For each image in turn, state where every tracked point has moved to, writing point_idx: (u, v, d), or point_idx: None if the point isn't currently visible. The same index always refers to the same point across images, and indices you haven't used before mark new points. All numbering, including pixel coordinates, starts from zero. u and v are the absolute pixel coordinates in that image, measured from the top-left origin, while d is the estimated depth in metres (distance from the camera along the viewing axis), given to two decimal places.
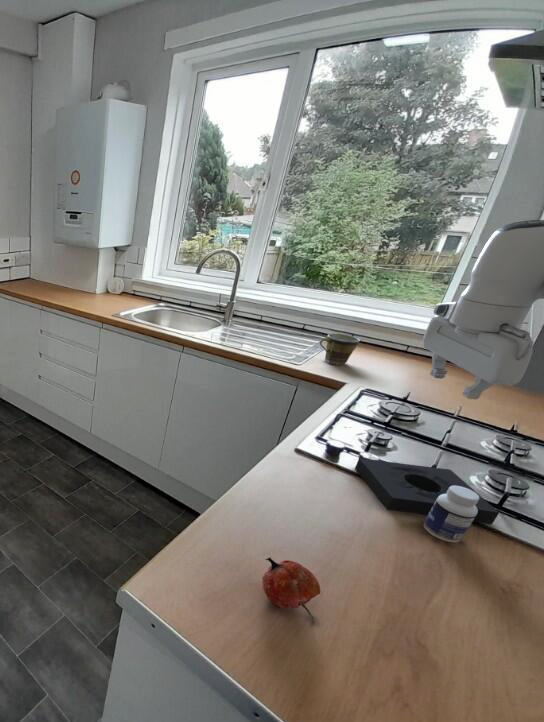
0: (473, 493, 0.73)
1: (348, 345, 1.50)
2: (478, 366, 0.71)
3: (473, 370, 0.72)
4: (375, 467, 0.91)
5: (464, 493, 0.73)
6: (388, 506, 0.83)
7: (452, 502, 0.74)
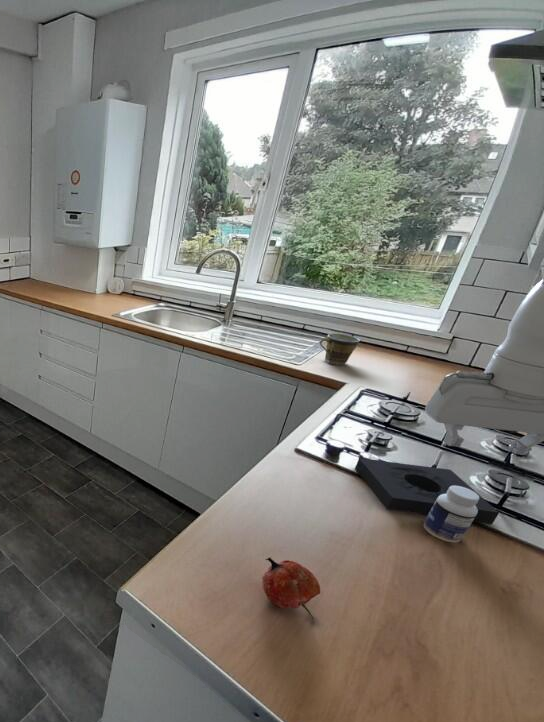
0: (473, 493, 0.73)
1: (348, 345, 1.50)
2: None
3: None
4: (375, 467, 0.91)
5: (464, 493, 0.73)
6: (388, 506, 0.83)
7: (452, 502, 0.74)
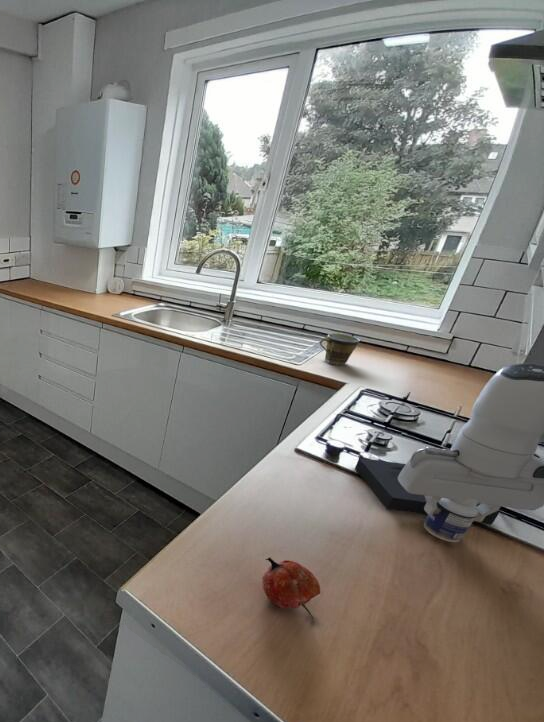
0: None
1: (348, 345, 1.50)
2: None
3: None
4: (375, 467, 0.91)
5: None
6: (388, 506, 0.83)
7: (453, 502, 0.74)
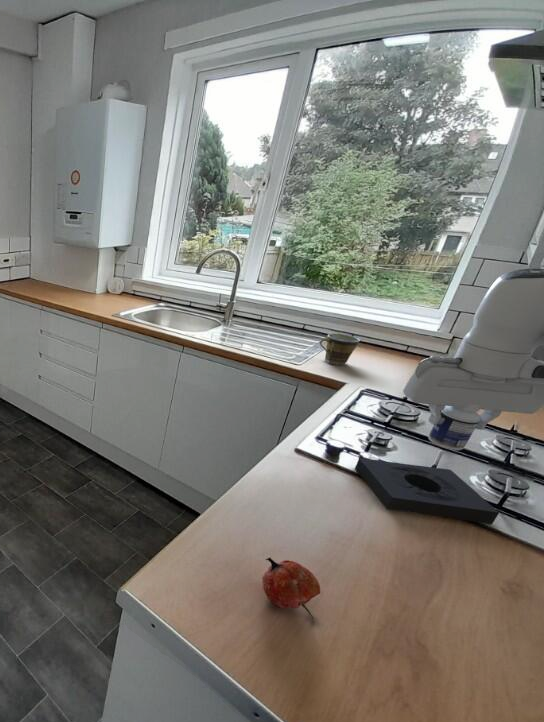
0: None
1: (348, 345, 1.50)
2: None
3: None
4: (375, 467, 0.91)
5: None
6: (388, 506, 0.83)
7: (456, 410, 0.78)
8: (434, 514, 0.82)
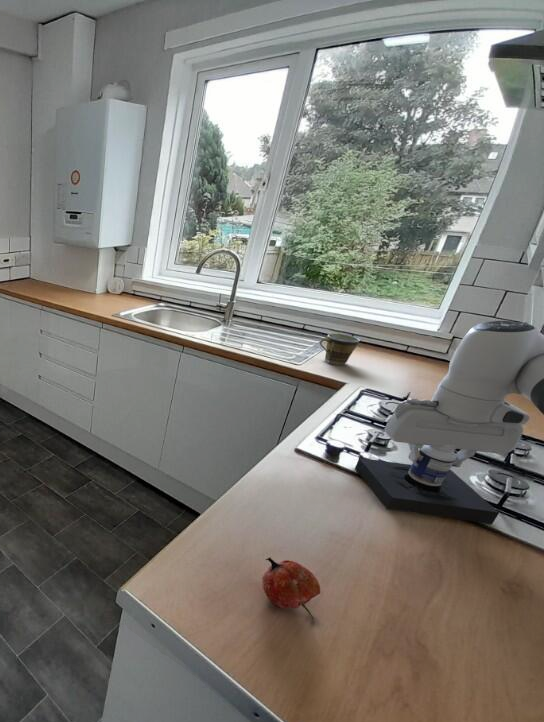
0: None
1: (348, 345, 1.50)
2: None
3: None
4: (375, 467, 0.91)
5: None
6: (388, 506, 0.83)
7: (434, 449, 0.82)
8: (434, 514, 0.82)
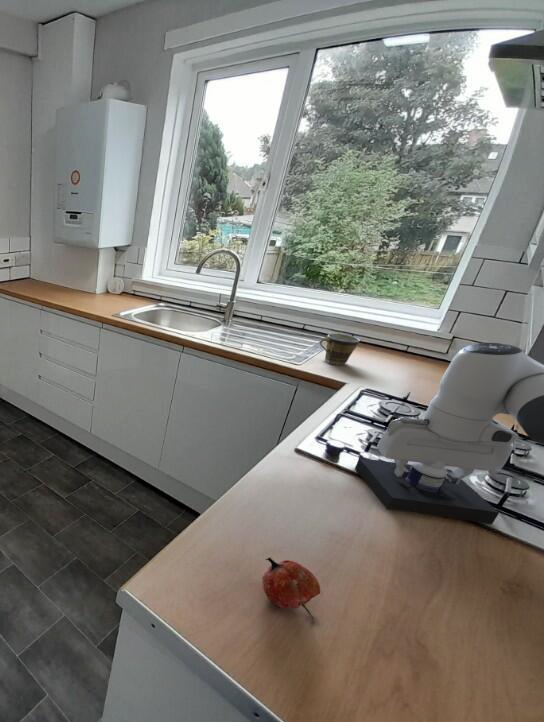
0: None
1: (348, 345, 1.50)
2: None
3: None
4: (375, 467, 0.91)
5: None
6: (388, 506, 0.83)
7: (425, 465, 0.84)
8: (434, 514, 0.82)
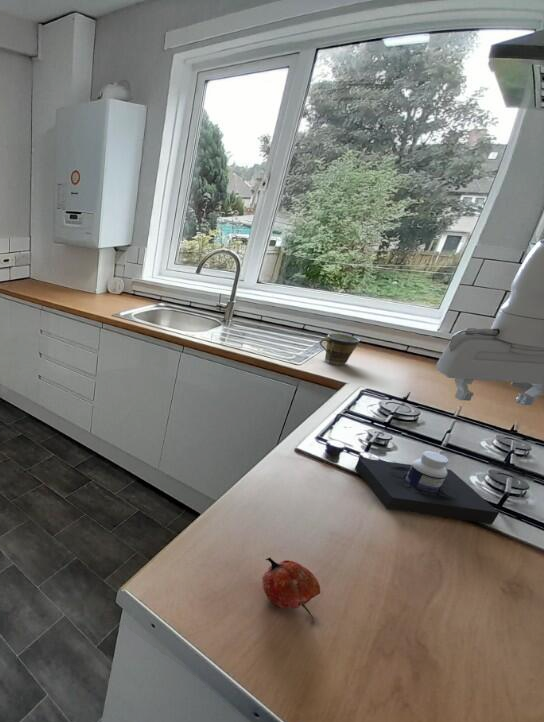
0: (443, 457, 0.84)
1: (348, 345, 1.50)
2: None
3: None
4: (375, 467, 0.91)
5: (435, 457, 0.84)
6: (388, 506, 0.83)
7: (425, 465, 0.84)
8: (434, 514, 0.82)
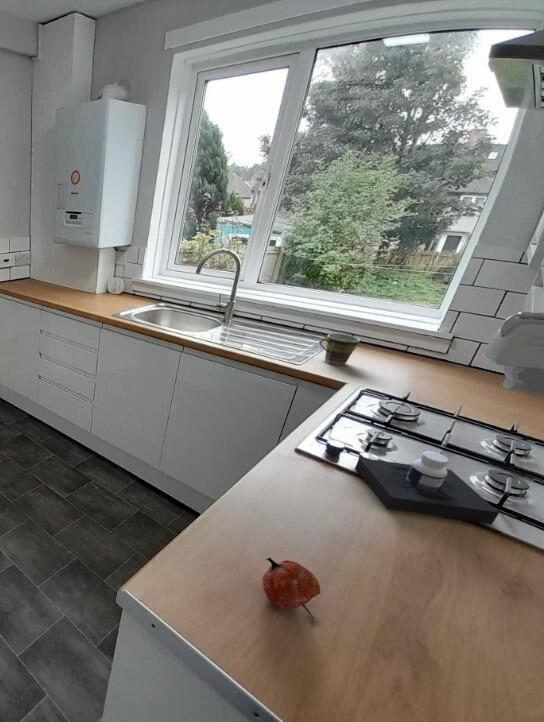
0: (443, 457, 0.84)
1: (348, 345, 1.50)
2: None
3: None
4: (375, 467, 0.91)
5: (435, 457, 0.84)
6: (388, 506, 0.83)
7: (425, 465, 0.84)
8: (434, 514, 0.82)
